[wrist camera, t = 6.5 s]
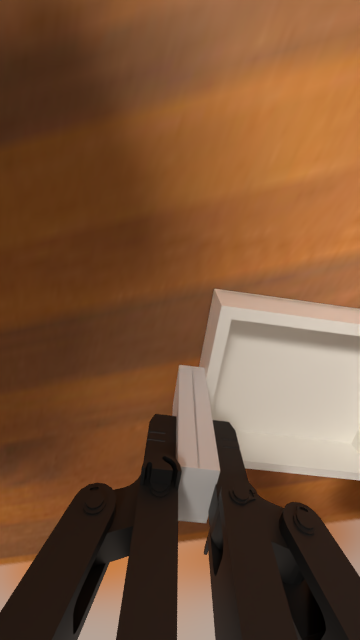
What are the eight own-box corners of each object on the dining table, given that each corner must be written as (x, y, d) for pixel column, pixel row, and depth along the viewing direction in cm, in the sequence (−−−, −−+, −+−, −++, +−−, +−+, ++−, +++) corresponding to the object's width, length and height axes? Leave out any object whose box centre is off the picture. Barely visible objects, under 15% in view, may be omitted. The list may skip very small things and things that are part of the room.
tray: (187, 425, 19) (188, 462, 16) (214, 288, 15) (221, 305, 12) (351, 444, 19) (379, 482, 17) (414, 316, 16) (465, 338, 13)
